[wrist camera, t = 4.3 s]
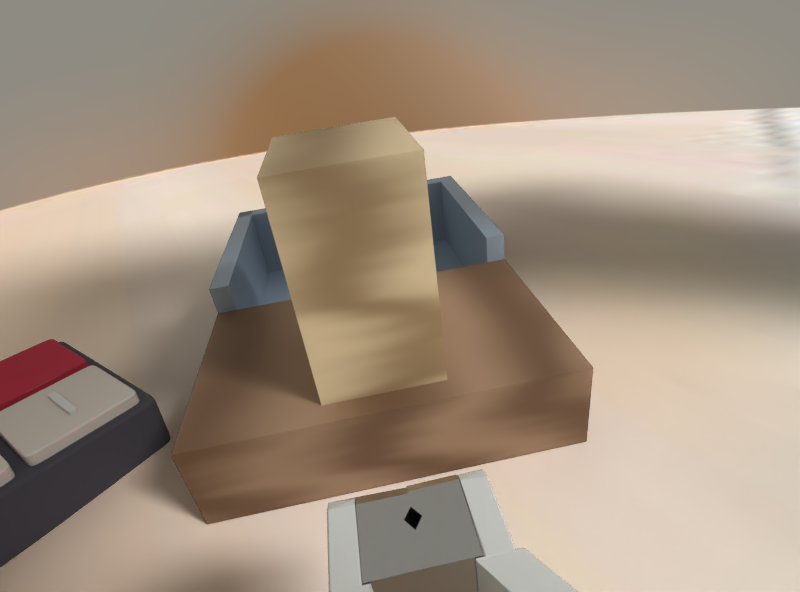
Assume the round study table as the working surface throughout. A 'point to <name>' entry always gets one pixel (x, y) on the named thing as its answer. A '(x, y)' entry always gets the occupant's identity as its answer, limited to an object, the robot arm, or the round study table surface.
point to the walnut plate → (378, 402)
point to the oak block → (357, 255)
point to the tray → (262, 270)
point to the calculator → (65, 438)
